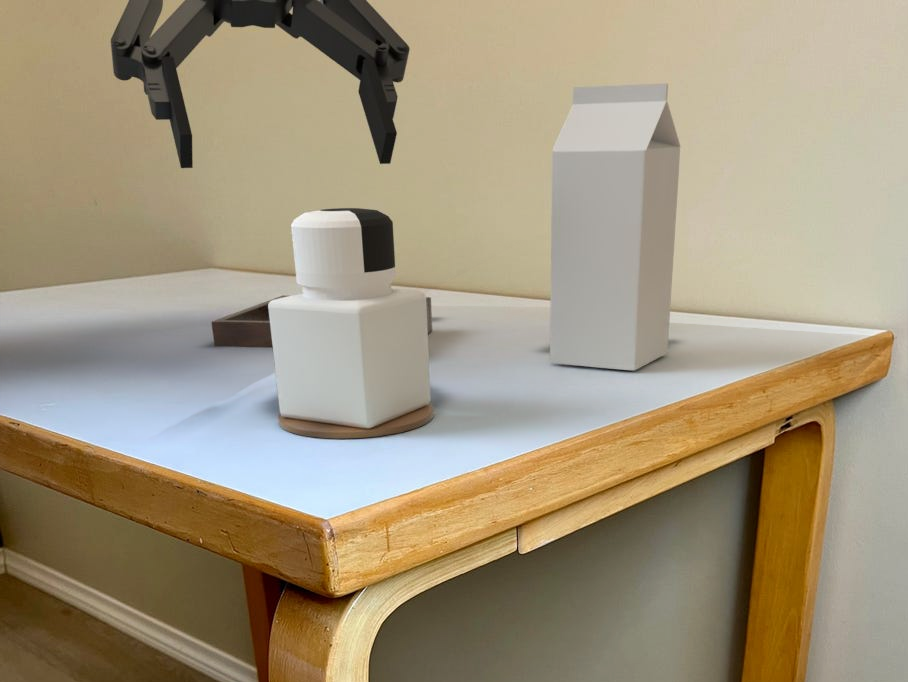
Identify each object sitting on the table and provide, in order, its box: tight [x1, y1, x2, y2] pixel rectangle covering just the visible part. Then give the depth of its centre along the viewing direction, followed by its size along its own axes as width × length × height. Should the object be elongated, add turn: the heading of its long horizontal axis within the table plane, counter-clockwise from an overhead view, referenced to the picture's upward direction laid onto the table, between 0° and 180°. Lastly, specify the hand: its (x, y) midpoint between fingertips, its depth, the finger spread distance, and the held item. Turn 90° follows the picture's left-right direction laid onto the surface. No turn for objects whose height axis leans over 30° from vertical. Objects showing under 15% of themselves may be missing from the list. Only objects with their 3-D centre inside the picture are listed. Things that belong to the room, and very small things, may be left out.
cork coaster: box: [277, 403, 435, 440], centre depth 65 cm, size 10×10×1 cm
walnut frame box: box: [211, 295, 433, 349], centre depth 88 cm, size 15×15×3 cm
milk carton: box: [549, 82, 681, 371], centre depth 75 cm, size 7×7×19 cm
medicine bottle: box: [268, 207, 432, 429], centre depth 62 cm, size 7×7×12 cm
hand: (290, 150), depth 67 cm, fingers open, 13 cm apart
